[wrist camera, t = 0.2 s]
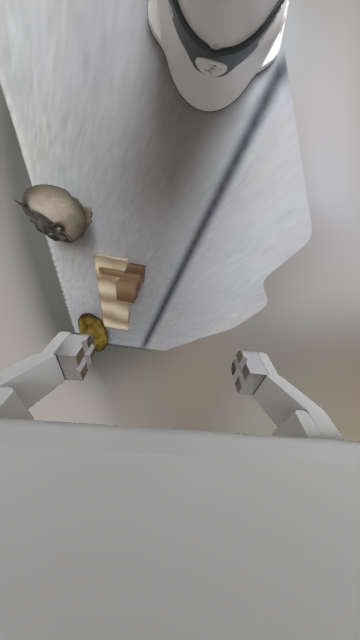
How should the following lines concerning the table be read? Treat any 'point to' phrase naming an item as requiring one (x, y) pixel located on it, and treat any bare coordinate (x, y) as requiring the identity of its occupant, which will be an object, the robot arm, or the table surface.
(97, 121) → the table surface
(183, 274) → the table surface
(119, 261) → the plank
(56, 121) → the table surface
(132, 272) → the wooden block
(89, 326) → the potato
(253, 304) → the table surface
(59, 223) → the round clay pot
